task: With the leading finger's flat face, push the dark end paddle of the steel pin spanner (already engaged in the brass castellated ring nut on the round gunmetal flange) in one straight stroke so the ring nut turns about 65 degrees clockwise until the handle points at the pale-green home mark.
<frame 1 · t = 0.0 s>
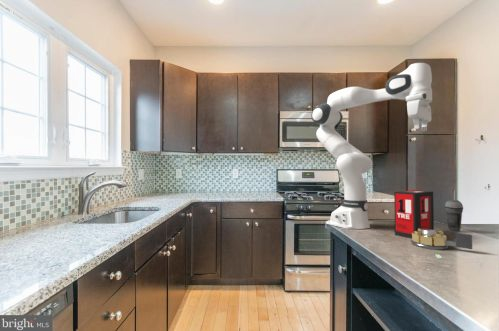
hand: (420, 129, 113), 48 cm above the counter, fingers open, 8 cm apart
home mark: (438, 256, 87), on the counter
beverage cup: (454, 231, 124), on the counter
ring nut: (440, 237, 98), point 4 cm above the counter, hinge at 0.0°
flange: (429, 245, 101), on the counter
cleaning product box: (414, 235, 118), on the counter
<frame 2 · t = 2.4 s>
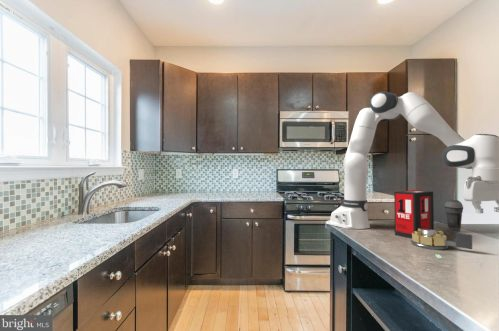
hand: (488, 212, 96), 14 cm above the counter, fingers open, 8 cm apart
nothing on the counter moved.
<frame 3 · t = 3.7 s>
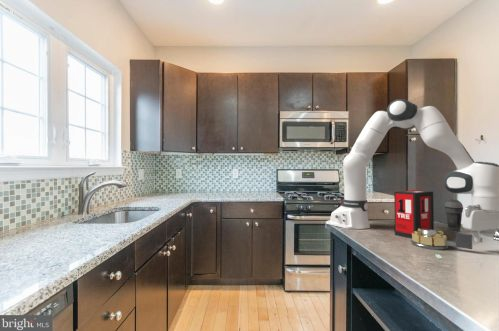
hand: (487, 241, 96), 3 cm above the counter, fingers open, 8 cm apart
nothing on the counter moved.
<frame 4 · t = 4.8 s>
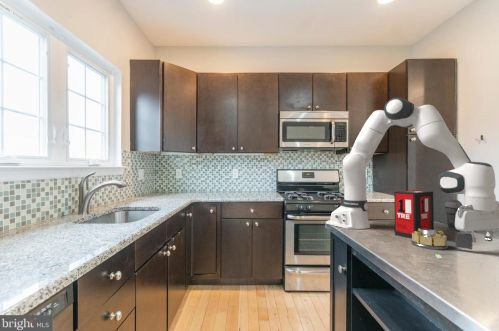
hand: (480, 241, 95), 3 cm above the counter, fingers open, 7 cm apart
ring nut: (440, 237, 98), point 4 cm above the counter, hinge at -0.6°, touching gripper
everything else where it was.
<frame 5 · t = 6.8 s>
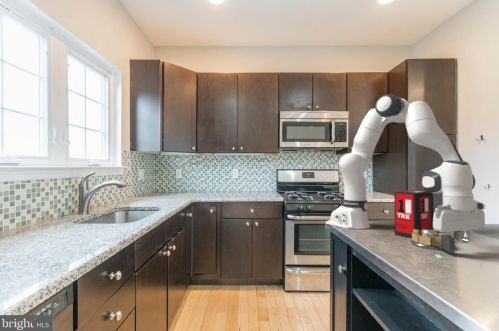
hand: (459, 242, 92), 4 cm above the counter, fingers open, 5 cm apart
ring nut: (435, 238, 97), point 4 cm above the counter, hinge at -49.9°, touching gripper
everything else where it was.
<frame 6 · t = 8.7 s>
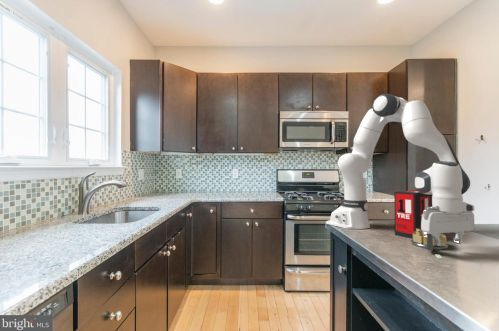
hand: (447, 244, 91), 3 cm above the counter, fingers open, 7 cm apart
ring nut: (429, 237, 98), point 4 cm above the counter, hinge at -79.3°, touching gripper
everything else where it was.
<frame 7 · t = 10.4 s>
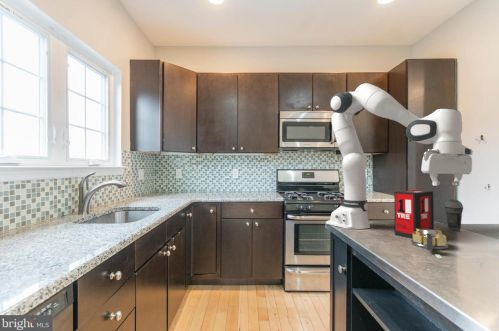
hand: (445, 185, 98), 24 cm above the counter, fingers open, 8 cm apart
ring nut: (429, 237, 98), point 4 cm above the counter, hinge at -79.5°
everything else where it was.
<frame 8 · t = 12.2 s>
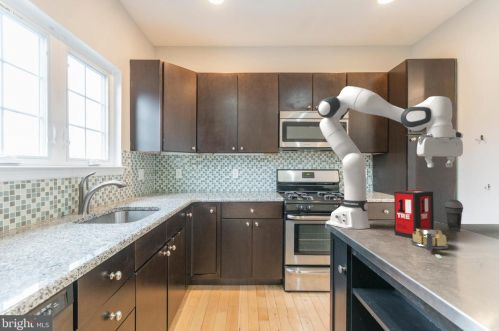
hand: (440, 167, 106), 31 cm above the counter, fingers open, 8 cm apart
nothing on the counter moved.
at the end: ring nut at -80° (first picture: +0°) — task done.
